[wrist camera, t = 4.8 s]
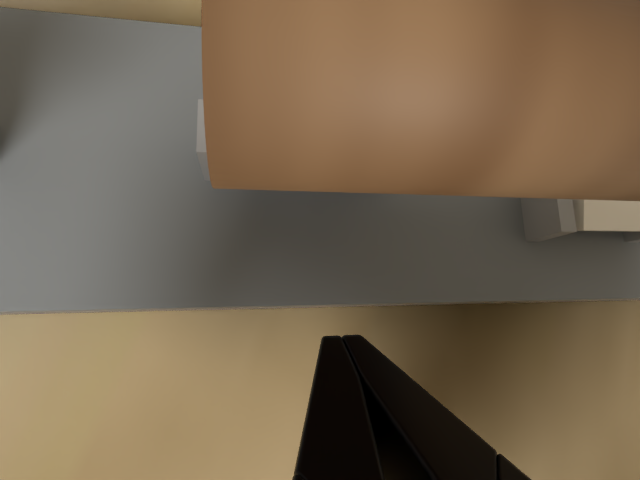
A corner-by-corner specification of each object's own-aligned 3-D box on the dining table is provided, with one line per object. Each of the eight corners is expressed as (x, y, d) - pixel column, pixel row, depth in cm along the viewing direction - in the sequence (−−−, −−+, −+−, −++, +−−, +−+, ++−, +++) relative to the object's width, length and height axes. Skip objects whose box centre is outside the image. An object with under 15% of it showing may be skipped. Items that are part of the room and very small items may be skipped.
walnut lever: (361, 181, 15) (768, 208, 3) (237, 177, 14) (203, 194, 2) (364, 131, 14) (819, -36, 3) (238, 123, 14) (200, -140, 2)
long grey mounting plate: (666, 299, 20) (818, 291, 14) (-264, 320, 13) (-599, 320, 8) (630, 108, 21) (753, 40, 16) (-198, 43, 15) (-433, -105, 10)
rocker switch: (625, 231, 16) (661, 231, 14) (553, 230, 15) (583, 230, 14) (628, 102, 16) (664, 90, 14) (555, 96, 15) (586, 82, 14)
